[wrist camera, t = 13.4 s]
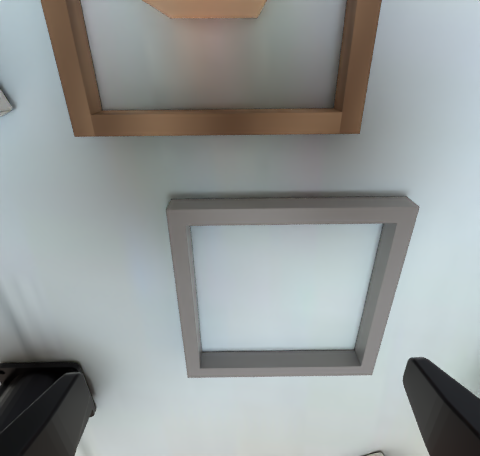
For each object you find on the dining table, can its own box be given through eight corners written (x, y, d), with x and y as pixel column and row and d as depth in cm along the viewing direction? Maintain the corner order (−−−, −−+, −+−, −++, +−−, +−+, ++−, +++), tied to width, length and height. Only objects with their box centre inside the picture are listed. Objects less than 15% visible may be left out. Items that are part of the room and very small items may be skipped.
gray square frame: (190, 361, 25) (187, 377, 24) (170, 199, 19) (165, 209, 17) (364, 358, 25) (371, 375, 24) (406, 196, 19) (419, 207, 17)
